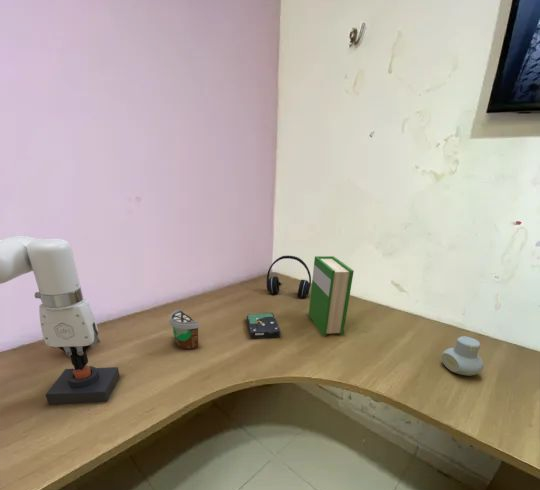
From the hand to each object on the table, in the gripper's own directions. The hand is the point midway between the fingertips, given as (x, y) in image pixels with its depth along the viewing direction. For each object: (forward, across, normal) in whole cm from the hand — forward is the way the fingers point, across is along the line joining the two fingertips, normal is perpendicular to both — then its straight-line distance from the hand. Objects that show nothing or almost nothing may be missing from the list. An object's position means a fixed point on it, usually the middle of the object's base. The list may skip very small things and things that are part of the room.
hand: (81, 366), depth 75 cm
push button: (+3, 0, 0) cm, 3 cm away
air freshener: (+8, +105, +2) cm, 105 cm away
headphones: (+8, +63, +63) cm, 89 cm away
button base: (+7, 0, 0) cm, 7 cm away
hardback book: (+8, +72, +33) cm, 79 cm away
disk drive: (+8, +48, +31) cm, 57 cm away
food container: (+8, +21, +21) cm, 30 cm away
